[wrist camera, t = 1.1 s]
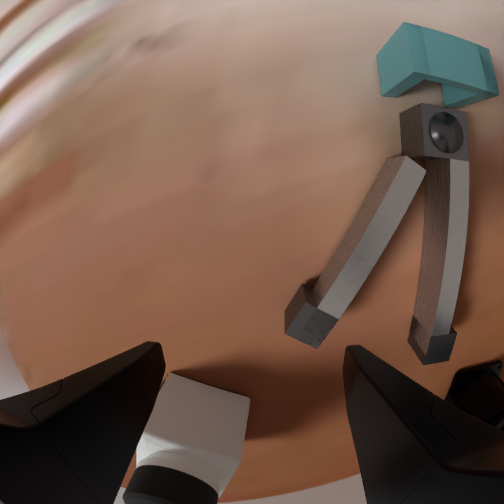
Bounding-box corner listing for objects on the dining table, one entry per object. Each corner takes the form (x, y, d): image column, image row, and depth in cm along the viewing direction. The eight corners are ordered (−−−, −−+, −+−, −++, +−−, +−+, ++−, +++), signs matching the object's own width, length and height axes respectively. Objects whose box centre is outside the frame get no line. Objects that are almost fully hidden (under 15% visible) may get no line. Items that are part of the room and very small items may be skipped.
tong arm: (377, 151, 16) (395, 147, 13) (405, 170, 16) (426, 171, 13) (284, 311, 19) (284, 333, 17) (312, 325, 20) (317, 348, 17)
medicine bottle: (168, 369, 22) (106, 482, 11) (252, 396, 22) (230, 524, 10) (161, 420, 24) (115, 516, 13) (231, 442, 24) (208, 546, 12)
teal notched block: (376, 55, 15) (403, 22, 10) (449, 70, 14) (488, 49, 9) (381, 95, 15) (413, 71, 10) (455, 108, 15) (498, 95, 10)
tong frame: (399, 113, 16) (421, 102, 12) (448, 121, 15) (475, 114, 12) (386, 343, 20) (400, 369, 16) (431, 338, 19) (449, 361, 16)
